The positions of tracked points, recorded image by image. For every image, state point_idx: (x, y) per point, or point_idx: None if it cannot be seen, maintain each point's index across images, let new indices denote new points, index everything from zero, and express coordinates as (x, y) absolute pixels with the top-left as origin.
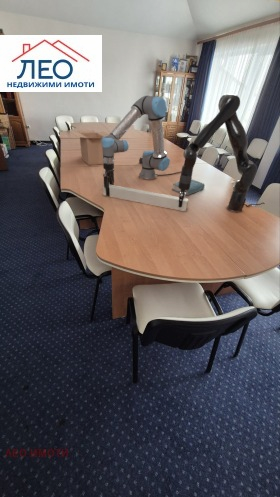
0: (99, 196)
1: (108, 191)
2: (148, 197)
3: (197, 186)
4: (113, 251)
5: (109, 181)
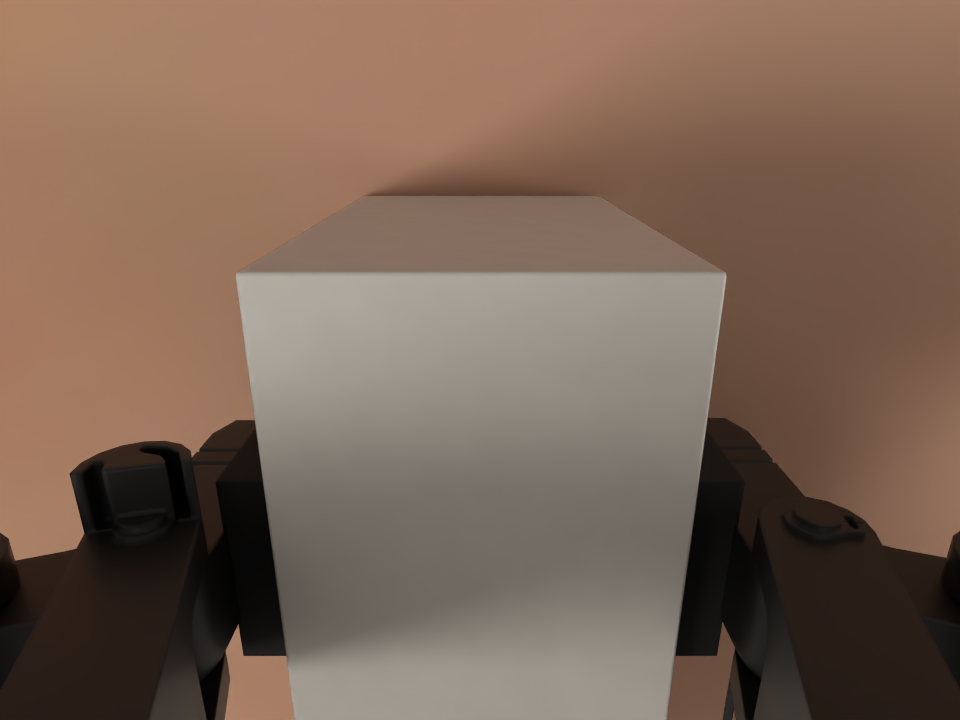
0: (204, 119)
1: None
2: None
3: None
4: None
5: (789, 680)
